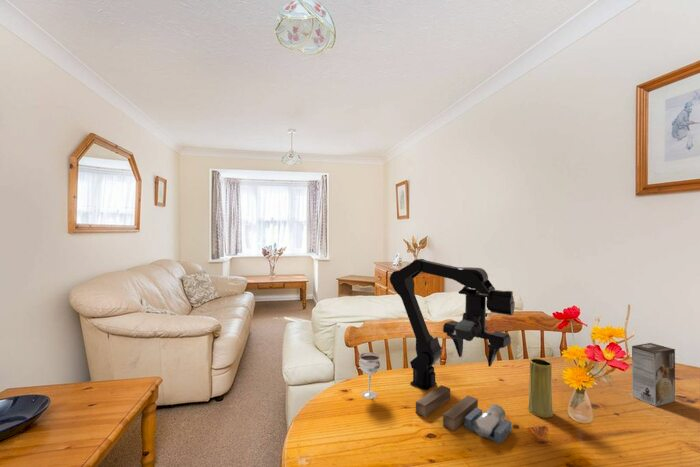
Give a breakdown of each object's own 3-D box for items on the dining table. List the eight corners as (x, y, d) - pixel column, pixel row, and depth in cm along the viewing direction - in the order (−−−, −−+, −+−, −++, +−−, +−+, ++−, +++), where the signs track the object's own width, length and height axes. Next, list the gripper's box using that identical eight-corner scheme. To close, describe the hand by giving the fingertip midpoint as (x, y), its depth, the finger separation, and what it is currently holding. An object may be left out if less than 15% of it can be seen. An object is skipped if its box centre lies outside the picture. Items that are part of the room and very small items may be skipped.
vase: (556, 419, 87) (557, 367, 87) (532, 416, 88) (532, 365, 88) (547, 407, 93) (548, 358, 93) (524, 405, 94) (525, 356, 94)
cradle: (464, 427, 83) (464, 417, 83) (476, 416, 88) (476, 407, 88) (501, 444, 77) (501, 433, 76) (511, 431, 81) (511, 421, 81)
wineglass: (355, 397, 98) (355, 358, 98) (362, 387, 104) (363, 351, 104) (376, 402, 95) (376, 362, 95) (382, 391, 101) (383, 354, 101)
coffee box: (650, 392, 102) (650, 342, 102) (675, 402, 96) (676, 349, 96) (631, 396, 99) (631, 345, 99) (656, 407, 93) (656, 352, 93)
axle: (486, 440, 77) (492, 428, 76) (471, 428, 80) (477, 415, 79) (502, 423, 84) (508, 411, 83) (488, 412, 87) (493, 401, 86)
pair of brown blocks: (415, 412, 90) (415, 401, 90) (441, 395, 99) (441, 385, 99) (453, 431, 81) (453, 418, 81) (477, 410, 91) (477, 399, 91)
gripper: (433, 308, 98) (432, 359, 98) (495, 321, 84) (494, 380, 84) (452, 303, 105) (451, 350, 105) (511, 314, 92) (510, 368, 92)
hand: (474, 361), depth 96 cm, fingers open, 9 cm apart
